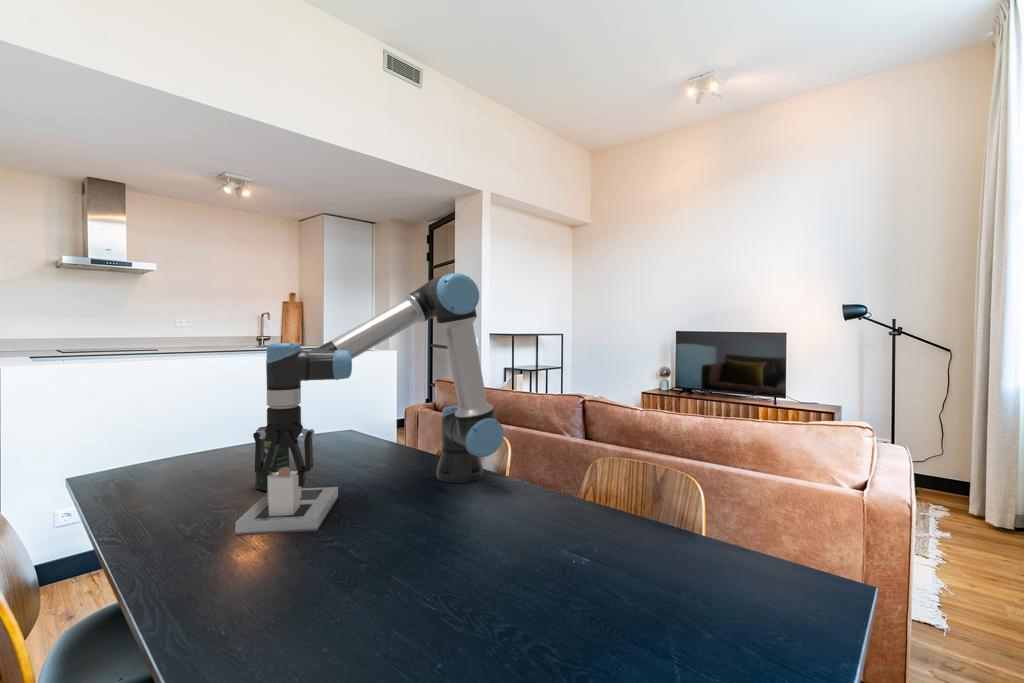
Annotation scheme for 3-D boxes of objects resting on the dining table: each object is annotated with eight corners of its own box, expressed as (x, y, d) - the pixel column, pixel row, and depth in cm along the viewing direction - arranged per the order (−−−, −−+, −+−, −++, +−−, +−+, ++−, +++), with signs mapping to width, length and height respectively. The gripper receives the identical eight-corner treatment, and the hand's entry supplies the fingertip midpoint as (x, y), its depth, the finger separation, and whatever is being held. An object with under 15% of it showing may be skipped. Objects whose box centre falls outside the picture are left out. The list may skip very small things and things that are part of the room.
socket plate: (337, 497, 132) (337, 486, 132) (317, 530, 110) (317, 518, 110) (270, 500, 129) (270, 489, 129) (235, 535, 108) (235, 522, 108)
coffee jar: (295, 486, 141) (295, 425, 141) (271, 494, 134) (271, 430, 134) (274, 481, 146) (274, 422, 145) (250, 489, 139) (250, 427, 138)
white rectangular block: (300, 506, 118) (299, 465, 117) (293, 514, 112) (292, 471, 112) (276, 507, 117) (276, 465, 116) (268, 516, 111) (268, 472, 111)
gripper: (327, 402, 119) (327, 492, 119) (249, 404, 116) (250, 496, 117) (319, 407, 111) (320, 503, 112) (236, 409, 109) (237, 507, 109)
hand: (284, 499), depth 114 cm, fingers closed on white rectangular block, 5 cm apart
